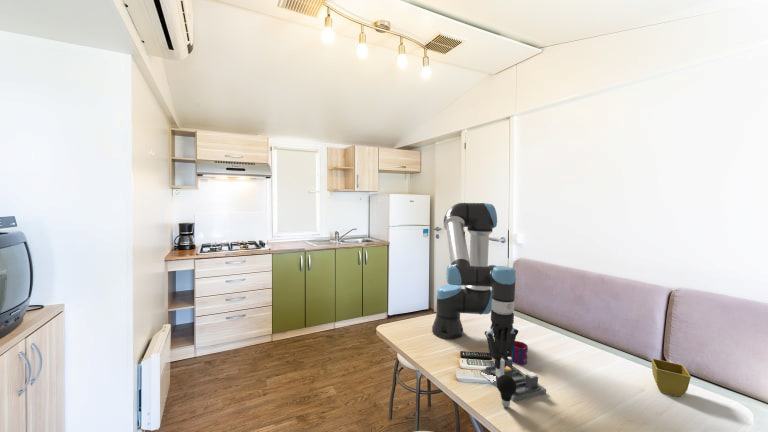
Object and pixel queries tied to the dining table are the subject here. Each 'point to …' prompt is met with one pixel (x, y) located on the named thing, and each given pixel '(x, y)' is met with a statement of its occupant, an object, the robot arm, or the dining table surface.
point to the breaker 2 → (531, 380)
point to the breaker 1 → (509, 362)
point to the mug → (519, 353)
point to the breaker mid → (508, 371)
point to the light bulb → (506, 388)
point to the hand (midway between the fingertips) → (499, 376)
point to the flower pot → (670, 377)
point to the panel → (517, 384)
